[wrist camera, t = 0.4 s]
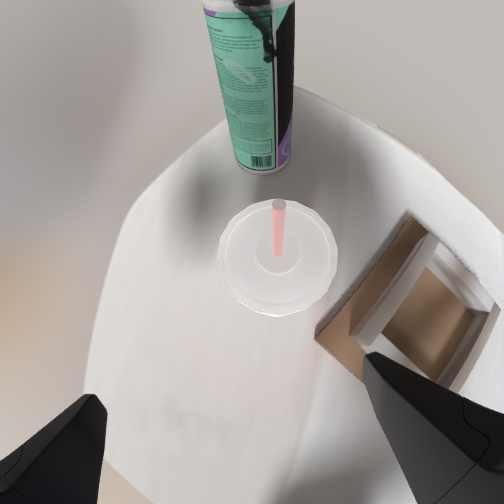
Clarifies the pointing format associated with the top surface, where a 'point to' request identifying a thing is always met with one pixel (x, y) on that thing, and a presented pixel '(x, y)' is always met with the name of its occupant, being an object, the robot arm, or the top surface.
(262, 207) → the beverage cup
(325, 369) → the top surface
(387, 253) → the cup holder board
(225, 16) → the spray can
